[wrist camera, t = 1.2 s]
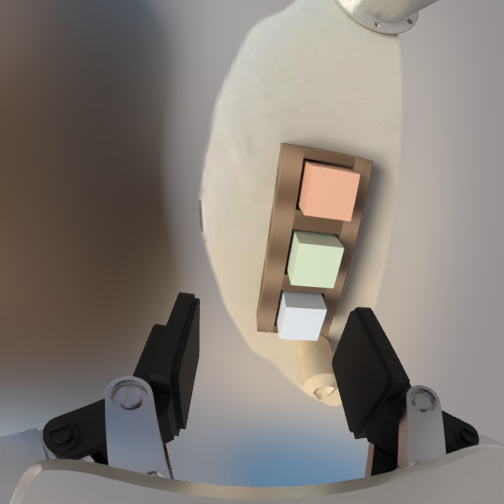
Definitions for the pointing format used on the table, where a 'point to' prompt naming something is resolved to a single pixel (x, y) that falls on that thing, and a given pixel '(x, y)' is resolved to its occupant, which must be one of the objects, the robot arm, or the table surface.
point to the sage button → (314, 259)
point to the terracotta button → (327, 191)
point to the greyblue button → (300, 315)
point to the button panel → (291, 217)
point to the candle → (316, 367)
